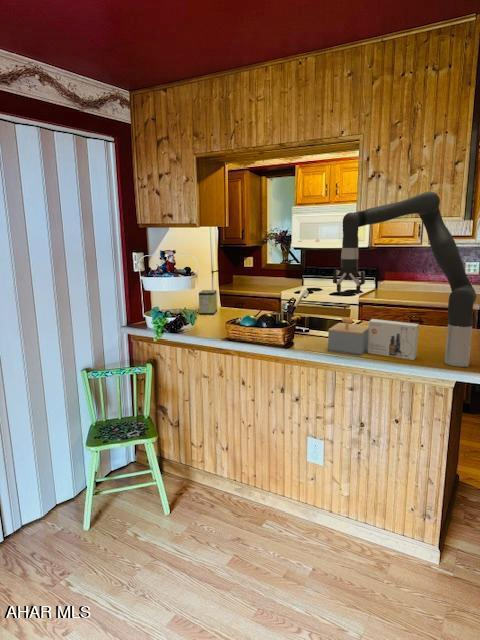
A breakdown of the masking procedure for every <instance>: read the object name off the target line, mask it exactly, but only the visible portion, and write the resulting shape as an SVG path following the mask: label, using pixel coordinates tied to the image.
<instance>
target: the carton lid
mask: <svg viewBox="0 0 480 640" xmlns="http://www.w3.org/2000/svg"><path fill="white" fill-rule="evenodd" d="M341 321H342V322H338V323H336V324H334V325H333V326H332V327H330V328H328V331H335V332H344V333H353V334H363V333H365V332H366V331H367V330H368V329H369V324H367V325H366V324H357V323H356V324H355V323H353V322H354V320H353V318H349V317H343V318H342V319H341Z"/></svg>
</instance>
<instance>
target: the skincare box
mask: <svg viewBox="0 0 480 640" xmlns="http://www.w3.org/2000/svg"><path fill="white" fill-rule="evenodd" d="M368 326H369V336H368V350H367V354H373V355H378V356H386V357H390V358H398V359H403V360H404V359H405V360H411V361H412V360H413V361H415V359H416V358H417V353H418V352H417V351H418V343H419V342H418V341H419V328H420V327H419V326H420V324H419V323H414V322H413V323H412V322H406V321H405V322H404V321H403V322H402V321H394V320H384V319H378V318H377V319H376V318H371V319H370V320H369V321H368Z"/></svg>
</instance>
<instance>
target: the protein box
mask: <svg viewBox="0 0 480 640" xmlns="http://www.w3.org/2000/svg"><path fill="white" fill-rule="evenodd" d="M217 296H218V293H217V289H202V290H200V292H198V310H199V312H198V313H199V314H198V315H199V316H214V315H216V313H217V312H218V299H217V298H218V297H217Z"/></svg>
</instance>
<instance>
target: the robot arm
mask: <svg viewBox="0 0 480 640" xmlns="http://www.w3.org/2000/svg"><path fill="white" fill-rule="evenodd" d="M440 204H441V199H440V197H439V195H438V194H437V193H436V192H433V191H425V192H422V193H420V194H418V195H417V194H416V195H415V196H412V197H409V198H407V199H403V200H401V201H395V202H393V203H392V202H391V203H388V204H382V205H379V206H374V207H370V208H368V209H365V210H364V209H363V210H360V211H356V212H348V213H346V214H345V215H344V216H343V219H342V240H341V241H342V244H341V245H342V246H341V252H340V253H341V255H340V270H339V269H334V271H333V276H332V283H333V284H336V292H337V294H338V293H339V294H340V293H341V290H342V283H343V281H353V282H354V283H355V284H356V286H355V287H356V288H355V295H358V294H360V293H361V286H363V285H365V283H366V272H365V270H362V271H359V270H358V268H359V228H361V227H364V226H367V225H369V226H371V225H375V224H382V223H384V222H388V221H391V220H394V219H397V218H401V217H403V216H407V215H413V214H415V215H416V214H418V216H419V218H420V219H421V222H422V224H423V226H424V228H425V231H426V235H427V238H428V242H429V245H430V248H431V251H432V254H433V257H434V259H435V262H436V264H437V265H438V267H439V269H440V270H441V271H442V273H443V275H444V276H445V277H446V278H447V281H448V285H449V287H450V290H451V292H450V294H449V296H448V303H447V304H448V306H447V333H446V343H445V354H444V355H445V356H444V363H445V365H449V366H452V367H466V368H469V365H470V355H471V346H472V335H473V334H472V333H473V324H474V319H473V314H474V313H473V310H474V304H475V303H476V301H477V293H476V290H475V289H474V287H473V285H472V283H471V282H470V279H469V278H468V275H467V273H466V270H465V268H464V264H463V261H462V258H461V254H460V251H459V249H458V246H457V243H456V241H455V239H454V237H453V235H452V233H451V232H450V230H449V229H448V228H447V226H446V224H445V222H444V221H443V218H442V213H441V210H440ZM339 274H340V276H341V277H340V278H339V279H338V275H339ZM358 275H359V277H360V280H359V278H358V277H357V276H358Z"/></svg>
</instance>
